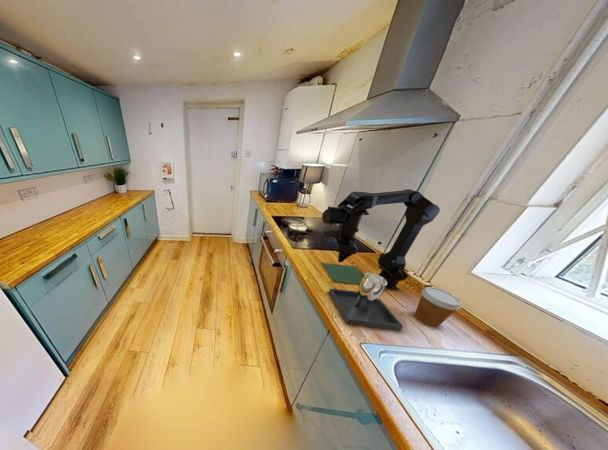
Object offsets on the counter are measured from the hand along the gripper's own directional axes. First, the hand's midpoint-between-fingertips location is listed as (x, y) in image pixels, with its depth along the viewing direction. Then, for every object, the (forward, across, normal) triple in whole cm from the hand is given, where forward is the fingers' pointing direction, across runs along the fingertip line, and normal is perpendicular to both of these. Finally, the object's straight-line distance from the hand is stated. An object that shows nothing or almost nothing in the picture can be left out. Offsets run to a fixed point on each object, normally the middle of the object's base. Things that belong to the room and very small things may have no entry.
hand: (338, 256), depth 85 cm
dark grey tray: (+14, +13, +10) cm, 22 cm away
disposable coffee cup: (+14, +7, +31) cm, 35 cm away
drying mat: (+14, -10, +7) cm, 19 cm away
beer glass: (+14, +13, +10) cm, 21 cm away
